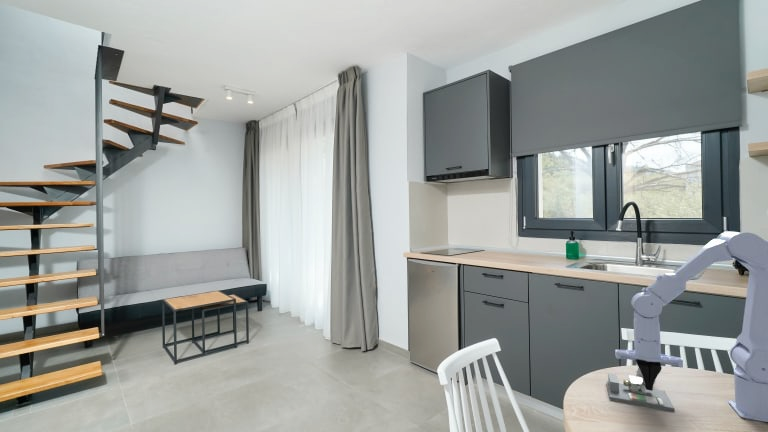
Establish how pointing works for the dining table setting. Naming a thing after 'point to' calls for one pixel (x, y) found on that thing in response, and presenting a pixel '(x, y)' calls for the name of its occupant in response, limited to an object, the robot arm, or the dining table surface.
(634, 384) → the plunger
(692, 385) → the dining table surface
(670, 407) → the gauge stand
